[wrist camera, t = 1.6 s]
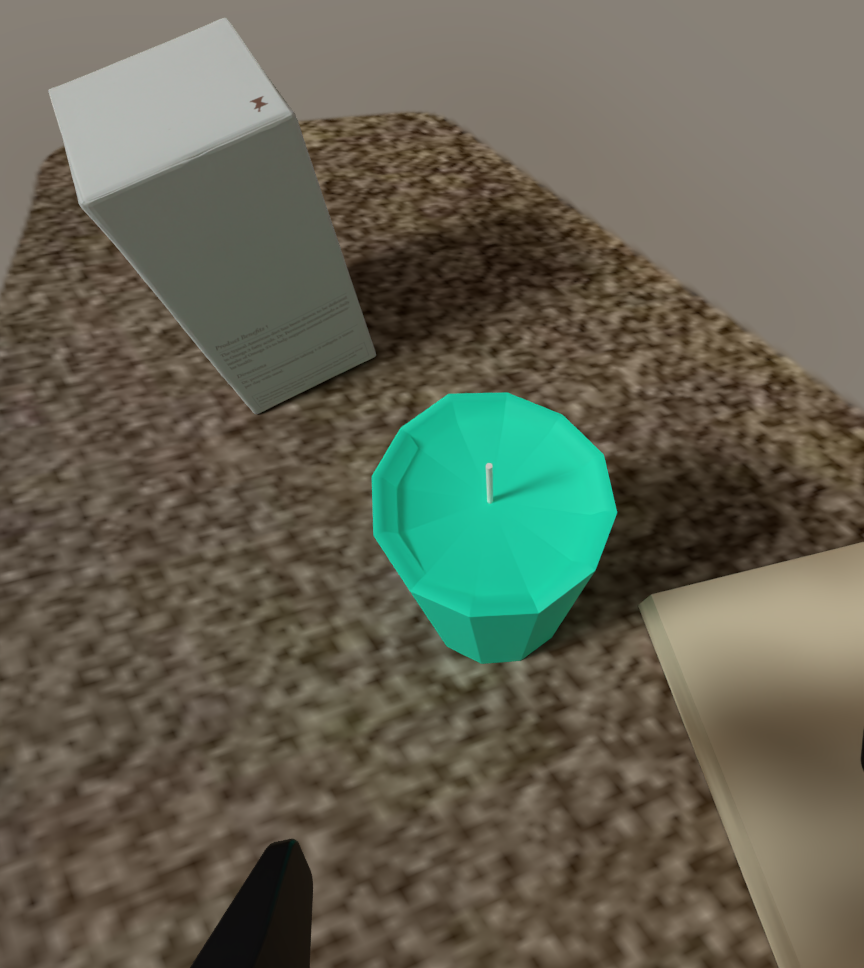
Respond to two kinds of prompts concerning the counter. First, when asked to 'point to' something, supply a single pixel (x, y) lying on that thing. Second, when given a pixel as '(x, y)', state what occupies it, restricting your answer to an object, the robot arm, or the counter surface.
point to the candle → (493, 520)
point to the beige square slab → (780, 737)
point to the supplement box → (217, 209)
